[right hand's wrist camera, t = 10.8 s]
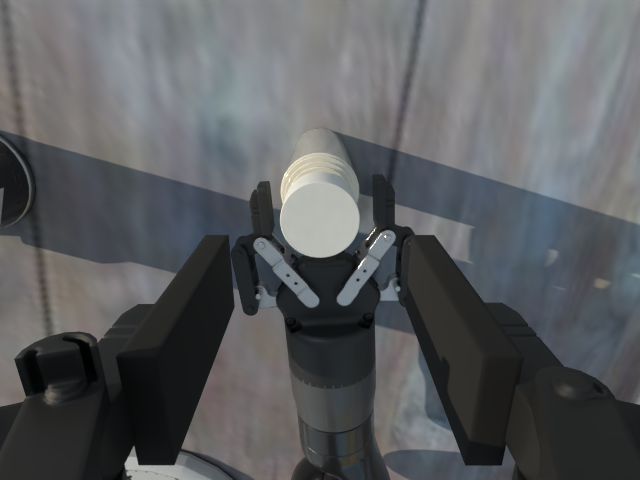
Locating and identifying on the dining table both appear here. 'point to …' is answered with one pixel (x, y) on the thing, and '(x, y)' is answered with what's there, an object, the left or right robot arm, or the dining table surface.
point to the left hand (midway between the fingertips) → (320, 179)
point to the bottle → (319, 159)
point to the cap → (319, 215)
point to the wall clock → (174, 469)
